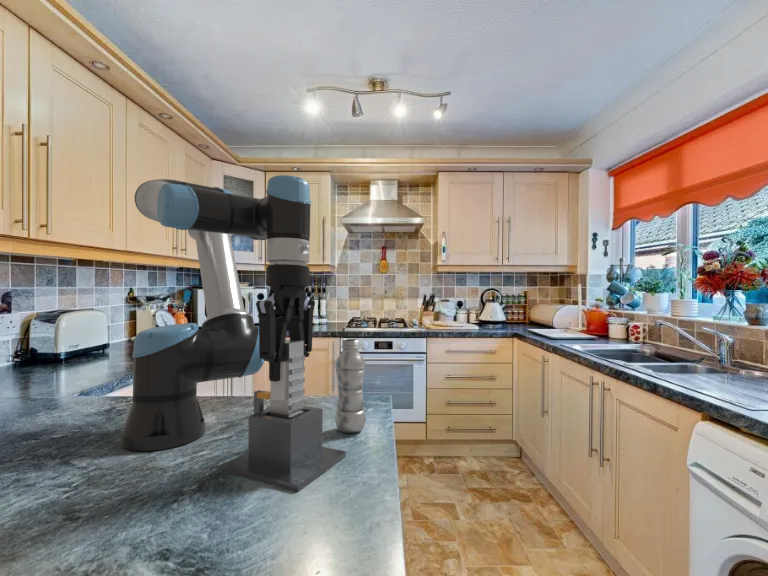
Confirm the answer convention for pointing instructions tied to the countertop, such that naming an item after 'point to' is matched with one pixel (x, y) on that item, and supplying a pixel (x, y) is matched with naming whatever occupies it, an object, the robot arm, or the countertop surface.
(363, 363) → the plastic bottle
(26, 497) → the countertop surface
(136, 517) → the countertop surface
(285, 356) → the column
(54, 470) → the countertop surface
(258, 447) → the stand
